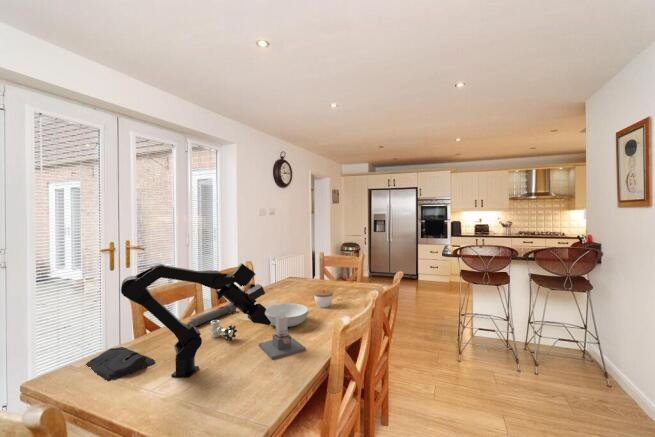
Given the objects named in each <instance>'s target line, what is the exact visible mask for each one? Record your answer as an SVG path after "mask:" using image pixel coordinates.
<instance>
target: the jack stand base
mask: <svg viewBox="0 0 655 437" xmlns="http://www.w3.org/2000/svg"><path fill="white" fill-rule="evenodd" d="M258 346H259V348H260V349H261V350H262V351H263V352H264V353H265V355H267V356H268V357H269V358H270V359H271V360H275V359H279V358H283V357H287V356H291V355H293V354H297V353H300V352H305V351H306V350H307V348H306V347H305V346H304V345H303V344H302V343H300V342H299V341H297V340H296V339H295V338H294V337H292V335H290V334H289V333H288V336H287V337H283V338H278V337H276V333H274V334H272V339H271V340H267V341H263V342H259V343H258Z"/></svg>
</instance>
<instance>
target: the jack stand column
mask: <svg viewBox="0 0 655 437" xmlns="http://www.w3.org/2000/svg"><path fill="white" fill-rule="evenodd" d="M275 334H276V337H278V338H283V337H287V336H288V334H289V333H288V325H287V316H285V315H279V316H276V326H275Z"/></svg>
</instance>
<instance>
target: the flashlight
mask: <svg viewBox="0 0 655 437" xmlns="http://www.w3.org/2000/svg"><path fill="white" fill-rule="evenodd" d="M237 309H238V308H237V307H235V306H234V305H233V304H232V303H231V302H229V303H227V304H225V305H224V306H220V307H218V308H216V309H213V310H211V311H207V312H206V313H203V314H199V315H197V316H195V317H191V319H190V321H189V322H191V324H192V325H193V326H194V327H197V326H199V325H203V324H204V323H207V322H211V321H213V320H216V319H217V318H220V317H221V316H224V315H227V314H232V313H234V312H235V311H237Z"/></svg>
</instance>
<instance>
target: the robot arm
mask: <svg viewBox="0 0 655 437" xmlns="http://www.w3.org/2000/svg"><path fill="white" fill-rule="evenodd" d="M255 276H256V273H255V272H254V271H253V269H251V268H249V267H248V266H246V265H245V264H244V263H240V264H239V265H238V267H237V268H235V270H234V271H233V272H232V274H231V273H228V272H227V273H222V272H221V271H219V270H194V269H189V268H183V267H178V266H170V265H165V264H162V263H156V264H155V265H153V266H152V267H149V268H148V269H146V270H143V271H141V272H140V273H137V274H136V275H130V276H127V277H125V278H124V279H123V280H122V283H121V287H120V293H121V294H122V296H123V297H125V298H127V299H129V301H132V302H134V303H136V304H138V305H141V306H142V307H143V308H145V310H147V311H148V312H149V313H150V314H151V315H152V316H154V317H155V318H156V319H157V320H158V321H159V322H160V323H161V324H162V325H163V326H165V327H166V328H167V329H168V330H169V331H171V333H173V334H174V335H175V338H176V339H177V342H176V343H175V344H174V351H175V354H176V355H175V370H174V371H173V373H171V375H170V376H171V377H172V378H173V377H175V378H179V377H180V378H191V377H192V376H193V375H194V374H195V372H197V371H198V369H200V366H198V365H195V364H196V363H195V362H196V361H195V359H196V358H195V357H196V355H197V354H196V353H197V351H198V349H199V348H200V347H201V346H202V343H203V340H202V337H201V332H200V329H198V327H197V326H195V327H194V326H193V325H192V324H191V322H190V321H189V322H188V323H187V324H186V323H184V322H183V321H181V320H180V319H179V318H178V317H177V316H175V315H174V313H172V312H171V311H170V310H169V309H168V308H167V307H166V306H165V305H163V303H161V302H160V301H159V300H158V298H156V296H154V295H153V294H152V292H151V291H150V289H148V288H149V287H150V286H151V285H152V284H154V283H155V282H157V281H158V280H159V279H161V278H162V279H169V280H174V281H182V282H189V283H194V284H195V283H196V284H199V285H202V286H204V287H207V288H210V289H213V290H215V291H214V292H215V299H217V300H219V301H220V300H221V298H225V300H227V301H228V302H229V303H232V304H233V305H234V306H235V307H237V309H238V310H239V311H240V312H242V313H243V314H244V315H247V318H248V319H249V320H250V322H252V323H253V324H260V325H261V324H262V325H265V326H266V325H267V326H271V325H272V324H271V322H270V320H269V319H268V318H267V316H266V315H265V311H266V307H265V306H264V305H262V304H261V303H260V302H259V303H256V302H257V299H258V298H260V297H261V296H264V295H266V291H265V289H264V287H263V285H261V284H259V283H258V284H257V283H256V284H254V283H253V282H252V283H250V282H251V280H252V279H253V278H254V277H255ZM235 283H236V284H235ZM249 283H250V284H249ZM247 285H248V289H247V291H245V290H242V289H241V288H240V287H246V286H247ZM239 286H240V287H239Z"/></svg>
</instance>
